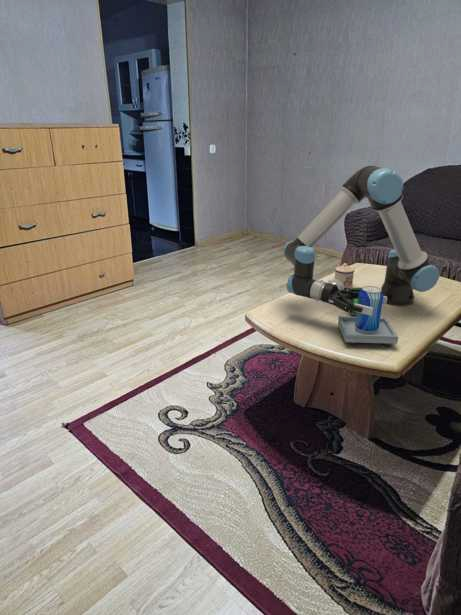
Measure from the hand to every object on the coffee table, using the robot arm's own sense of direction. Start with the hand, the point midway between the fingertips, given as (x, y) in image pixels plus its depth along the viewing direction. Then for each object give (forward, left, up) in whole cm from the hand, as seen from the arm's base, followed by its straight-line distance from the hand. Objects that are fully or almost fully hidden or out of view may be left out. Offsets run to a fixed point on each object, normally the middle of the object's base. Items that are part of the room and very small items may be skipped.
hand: (379, 306), depth 154 cm
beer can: (+3, -2, -11) cm, 11 cm away
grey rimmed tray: (+3, -2, -14) cm, 14 cm away
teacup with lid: (+1, -58, -14) cm, 60 cm away
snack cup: (+1, -24, -14) cm, 28 cm away
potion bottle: (+11, -42, -14) cm, 46 cm away
